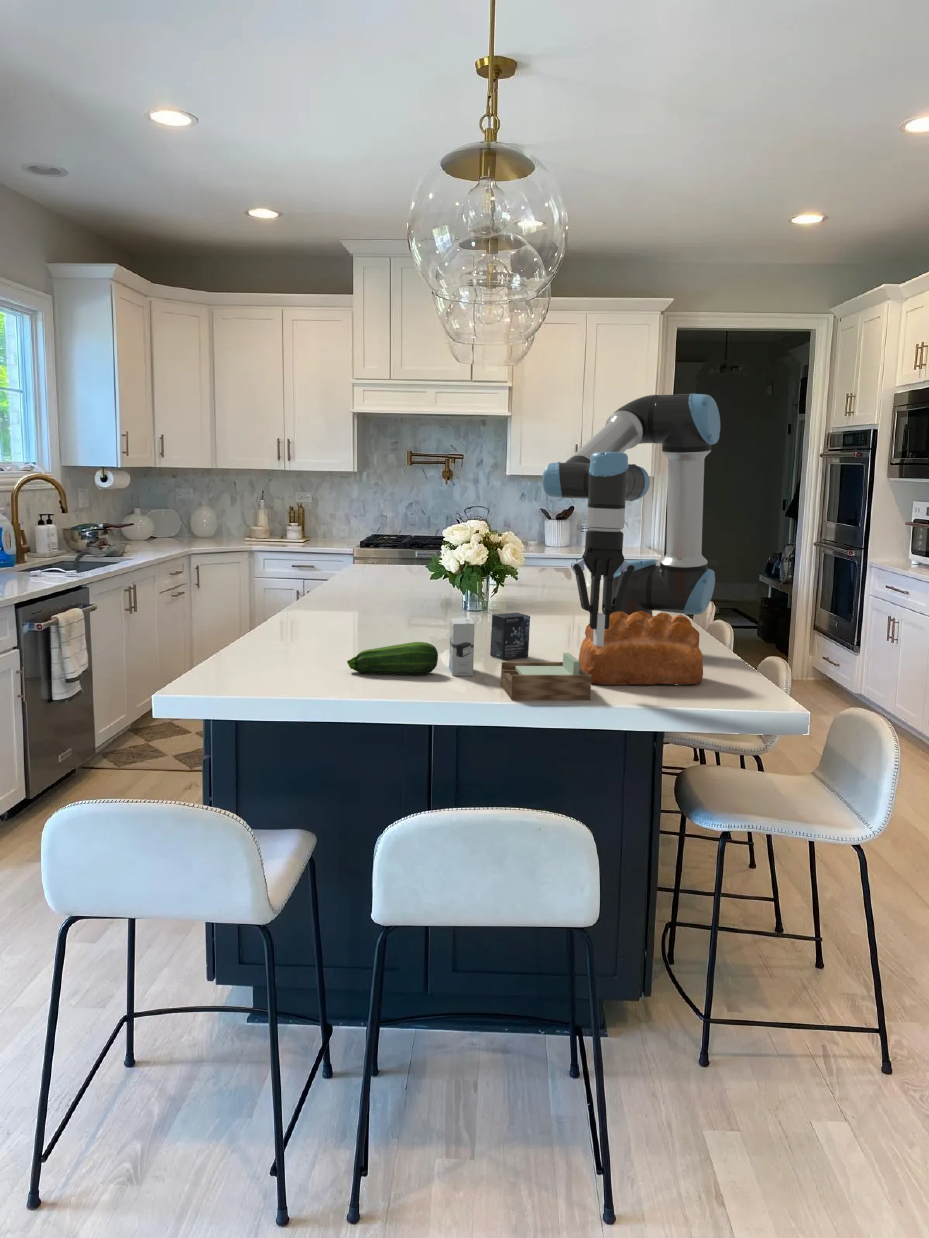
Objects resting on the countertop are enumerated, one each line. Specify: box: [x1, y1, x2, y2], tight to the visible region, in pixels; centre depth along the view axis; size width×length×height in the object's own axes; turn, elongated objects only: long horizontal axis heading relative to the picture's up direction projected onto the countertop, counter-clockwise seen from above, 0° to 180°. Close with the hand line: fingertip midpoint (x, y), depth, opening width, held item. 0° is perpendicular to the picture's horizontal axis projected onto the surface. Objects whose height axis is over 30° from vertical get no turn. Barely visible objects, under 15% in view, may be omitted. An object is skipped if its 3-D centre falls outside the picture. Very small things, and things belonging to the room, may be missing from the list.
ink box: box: [448, 617, 475, 677], centre depth 201 cm, size 8×5×12 cm, turn 5°
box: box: [489, 612, 531, 661], centre depth 220 cm, size 8×6×11 cm
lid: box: [515, 652, 581, 675], centre depth 184 cm, size 12×10×4 cm
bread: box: [577, 611, 704, 686], centre depth 199 cm, size 14×26×16 cm, turn 96°
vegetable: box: [346, 641, 439, 676], centre depth 198 cm, size 7×7×20 cm
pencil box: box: [500, 661, 592, 701], centre depth 185 cm, size 16×13×5 cm
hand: (598, 644), depth 185 cm, fingers closed
